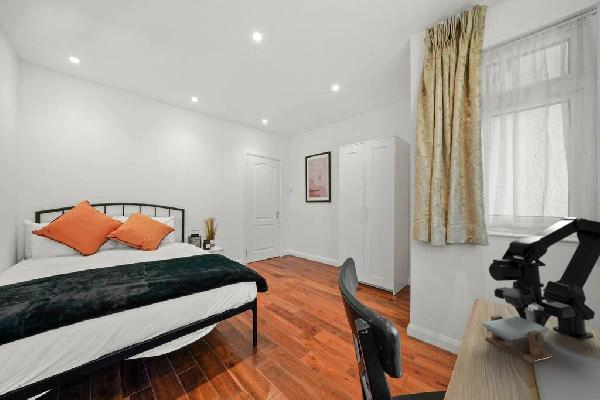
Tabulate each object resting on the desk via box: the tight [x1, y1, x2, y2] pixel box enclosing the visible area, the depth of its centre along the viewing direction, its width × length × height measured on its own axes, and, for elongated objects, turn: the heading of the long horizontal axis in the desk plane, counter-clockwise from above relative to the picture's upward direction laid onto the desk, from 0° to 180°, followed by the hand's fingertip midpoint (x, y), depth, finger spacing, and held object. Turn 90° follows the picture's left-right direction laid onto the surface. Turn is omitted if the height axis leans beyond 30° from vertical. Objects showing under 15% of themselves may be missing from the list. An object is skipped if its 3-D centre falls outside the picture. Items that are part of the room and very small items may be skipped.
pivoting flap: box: [481, 315, 550, 342], centre depth 67 cm, size 14×8×2 cm, turn 102°
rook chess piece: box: [524, 306, 544, 337], centre depth 74 cm, size 4×4×8 cm
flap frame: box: [485, 314, 553, 364], centre depth 67 cm, size 8×12×7 cm, turn 12°
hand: (532, 327), depth 74 cm, fingers closed on rook chess piece, 3 cm apart
